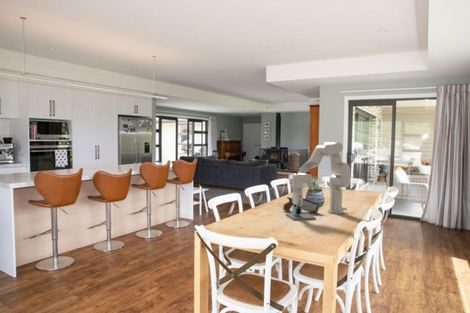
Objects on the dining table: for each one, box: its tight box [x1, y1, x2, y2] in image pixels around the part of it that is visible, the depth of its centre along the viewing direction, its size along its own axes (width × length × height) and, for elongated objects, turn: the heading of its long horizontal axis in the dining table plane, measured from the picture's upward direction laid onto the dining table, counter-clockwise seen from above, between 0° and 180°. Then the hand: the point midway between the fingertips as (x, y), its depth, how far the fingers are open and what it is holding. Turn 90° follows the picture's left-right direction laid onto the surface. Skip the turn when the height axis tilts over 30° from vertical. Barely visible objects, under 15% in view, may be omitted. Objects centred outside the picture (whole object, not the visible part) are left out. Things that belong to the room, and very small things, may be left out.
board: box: [285, 212, 317, 221], centre depth 255 cm, size 18×16×6 cm
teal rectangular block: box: [291, 206, 303, 215], centre depth 254 cm, size 6×6×5 cm
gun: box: [282, 196, 320, 214], centre depth 273 cm, size 5×27×15 cm, turn 78°
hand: (296, 213), depth 255 cm, fingers closed on teal rectangular block, 5 cm apart
